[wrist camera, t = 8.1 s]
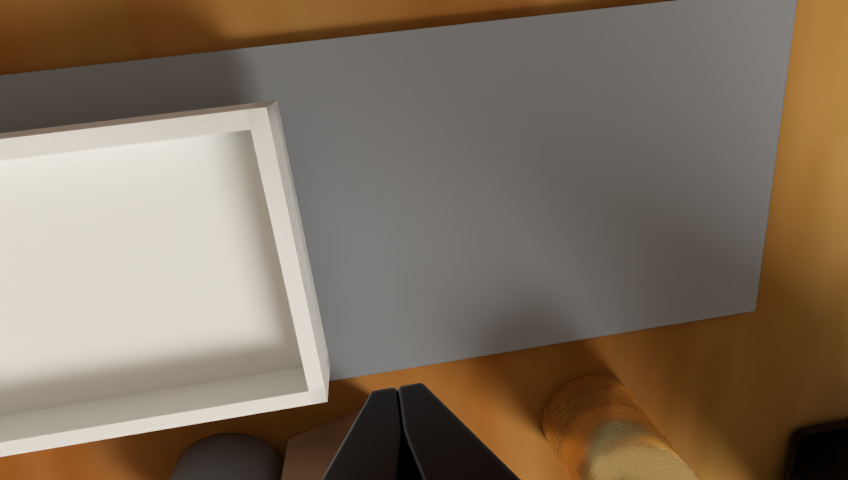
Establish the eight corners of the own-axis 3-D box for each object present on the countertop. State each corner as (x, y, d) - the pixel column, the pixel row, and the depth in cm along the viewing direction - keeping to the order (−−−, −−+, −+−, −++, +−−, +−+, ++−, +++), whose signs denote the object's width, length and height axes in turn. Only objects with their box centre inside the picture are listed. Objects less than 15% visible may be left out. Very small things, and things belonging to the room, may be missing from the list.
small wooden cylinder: (632, 367, 22) (729, 476, 16) (629, 443, 23) (717, 567, 18) (540, 383, 21) (606, 500, 16) (542, 459, 23) (604, 591, 17)
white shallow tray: (282, 96, 16) (266, 107, 13) (331, 347, 19) (327, 401, 16) (-137, 146, 15) (-258, 170, 12) (-13, 402, 18) (-84, 470, 15)
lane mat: (791, -13, 17) (799, -14, 17) (750, 307, 21) (755, 311, 21) (-187, 96, 15) (-199, 96, 14) (-18, 433, 19) (-23, 439, 19)
